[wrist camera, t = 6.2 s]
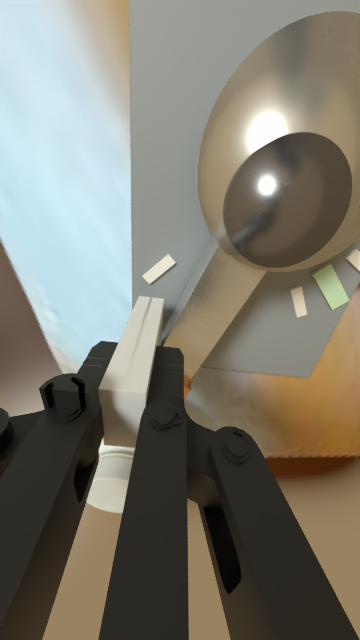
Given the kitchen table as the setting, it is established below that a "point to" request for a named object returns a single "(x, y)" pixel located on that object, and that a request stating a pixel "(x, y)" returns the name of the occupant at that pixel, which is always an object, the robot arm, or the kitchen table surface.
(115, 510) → the pill bottle
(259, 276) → the silver ladle
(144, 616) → the robot arm
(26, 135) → the kitchen table surface
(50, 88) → the kitchen table surface
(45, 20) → the kitchen table surface
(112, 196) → the kitchen table surface
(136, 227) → the stand board
